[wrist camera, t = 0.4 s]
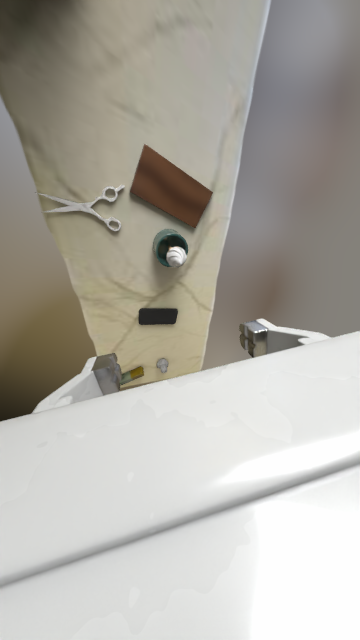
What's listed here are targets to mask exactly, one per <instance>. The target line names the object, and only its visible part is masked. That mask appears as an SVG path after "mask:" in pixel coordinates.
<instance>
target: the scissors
mask: <svg viewBox="0 0 360 640" xmlns="http://www.w3.org/2000/svg"><path fill="white" fill-rule="evenodd" d="M123 188H124V185H121V186H120V187H119V188H117V189H115V187H112V186H106V187H105V188H104V190H103V193H102V195H101V196H100V197H96V199H95V200H94V201H93V202H88V203H82V204H79V203H76V202H72V201H69V200H65V199H62V198H58V197H53V196H49V195H45V194H41V193H37V194H40V195H43V196H45V197H48V198H50V199H53V200H56V201H59V202H61V203H64V204H66V205H69V206H67V207H62V208H57V209H53V210H49V211H45V212H64V211H79V210H82V211H85V212H88V213H91V214H94V215H96V216H97V217H98V218H99V219H100V220H104V221H105V223H106V224H107V226H108V227H109V228H110V229H111V230H113V231H118V230H120V229H121V224H120V222H119V221H118V220H117V219H115V218H113V217H111V218H109V219H105V218H102V217H100V216H99V215H98V214H97V213H96V212H95V211H94V210H93V209H91V208H90V207H91V206H92V205H93V204H94V203H95V202H96V201H97V200H99V199H106V200H108V201H109V202H113V201H114V200H115V199H116V198H117V196H118V193H117V192H118V191H119V190H120V189H123ZM107 189H113V190H114V191H115V193H116V196H115V197H114V198H111V199H110V198H107V197H106V196H105V191H106V190H107ZM109 221H116V222H117V223H118V224H119V228H118V229H112V228H111V227H110V226H109Z"/></svg>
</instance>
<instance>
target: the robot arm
mask: <svg viewBox="0 0 360 640" xmlns="http://www.w3.org/2000/svg"><path fill="white" fill-rule="evenodd" d="M239 329H240V331H241V335H240V343H241V345H242V347H243V348H244V349H245V350H248V353H249V354H250V355H251V356H252V357H253V358H251V359H247V360H243V361H239V362H236V363H232V364H227V365H223V366H219V367H215V368H211V369H207V370H204V371H199V372H195V373H191V374H187V375H183V376H180V377H176V378H172V379H168V380H164V381H160V382H156V383H152V384H148V385H144V386H140V387H136V388H132V389H128V390H124V391H120V392H119V390H120V381H121V379H122V372H121V368H120V365H119V364H117V356H116V354H115V353H112V354H107V355H102V356H97V357H93V358H89V359H88V361H87V362H86V364H85V367H84V368H83V370H82V372H81V374H78V375H77V376H75V377H74V378H72V379H71V380H70V381H68V382H67V383H66V384H64V385H63V386H62V387H60V388H59V389H57V390H56V391H55V392H53V393H52V394H51V395H49V396H48V397H46V398H45V399H44V400H42V401H41V402H40V403H39V404H38V405H37V407H36V408H35V410H34V411H33V413H32V414H30V415H25V416H21V417H17V418H13V419H9V420H6V421H2V422H0V640H360V331H358V332H354V333H350V334H346V335H342V336H338V337H334V338H330V337H328V336H326V335H324V334H322V333H317V332H311V331H304V330H297V329H291V328H285V327H276V326H274V325H273V324H271V323H269V322H268V321H266V320H264V319H258V320H254V321H250V322H246V323H242V324H240V326H239Z"/></svg>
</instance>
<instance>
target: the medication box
mask: <svg viewBox="0 0 360 640" xmlns="http://www.w3.org/2000/svg"><path fill="white" fill-rule="evenodd" d="M142 376H144V371H143V368H142V367H138V368H136V369H134V370H131V371H129V372H127V373H124V374H122V379H121V381H120V384H121V385H123V384H125V383H128V382H130V381H132V380H135V379H137V378H139V377H142Z"/></svg>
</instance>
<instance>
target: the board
mask: <svg viewBox="0 0 360 640" xmlns="http://www.w3.org/2000/svg"><path fill="white" fill-rule="evenodd" d="M130 192H131V193H133V194H135V195H137V196H138V197H140V198H142V199H144V200H146V201H147V202H149V203H151V204H153V205H154V206H156V207H158V208H160V209H162V210H163V211H165V212H167V213H169V214H170V215H172V216H174V217H176V218H178V219H179V220H181V221H183V222H185V223H186V224H188V225H190V226H192V227H194V228H196V226H197V224H198V222H199V220H200V218H201V216H202V214H203V212H204V210H205V208H206V206H207V204H208V202H209V199H210V197H211V195H212V193H213V192H211V191H210V190H209V189H207V188H206V187H204V186H203V185H202V184H200V183H199V182H197V181H196V180H195V179H193V178H192V177H190V176H189V175H188V174H186V173H185V172H183V171H182V170H181V169H179V168H178V167H176V166H175V165H174V164H172V163H171V162H169V161H168V160H167V159H165V158H164V157H162V156H161V155H160V154H158V153H157V152H155V151H154V150H153V149H151V148H150V147H148V146H147V145H146V144H144V147H143V150H142V153H141V157H140V160H139V163H138V166H137V170H136V173H135V176H134V179H133V183H132V186H131V189H130Z"/></svg>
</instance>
